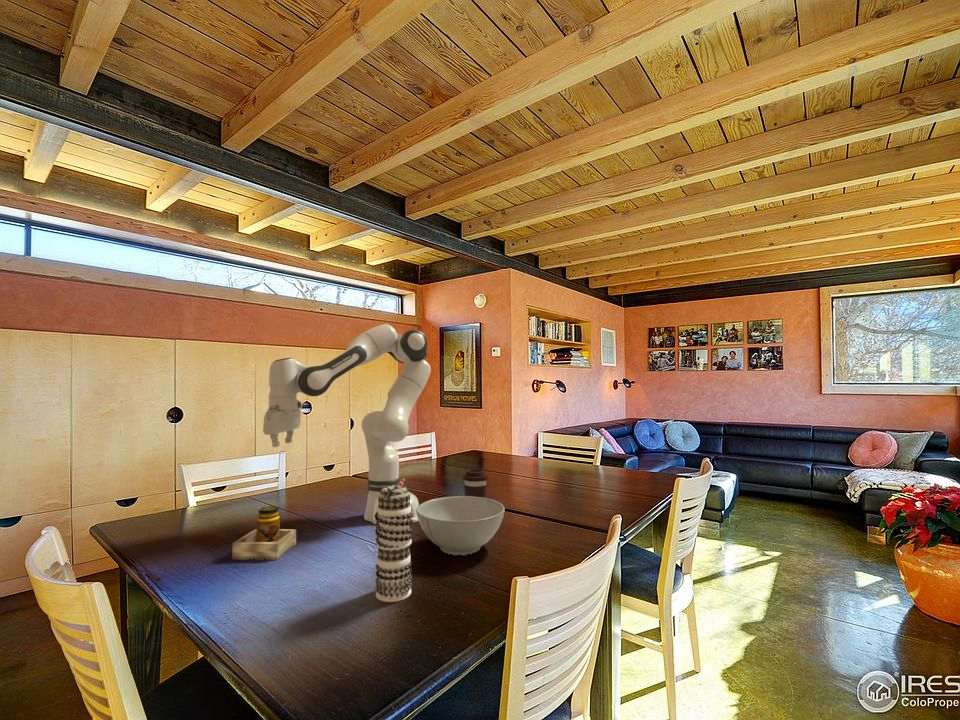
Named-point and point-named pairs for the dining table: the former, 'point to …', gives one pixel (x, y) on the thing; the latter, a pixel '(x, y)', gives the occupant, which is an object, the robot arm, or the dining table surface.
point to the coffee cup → (475, 483)
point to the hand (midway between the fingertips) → (282, 444)
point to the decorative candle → (393, 544)
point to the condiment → (268, 524)
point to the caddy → (263, 546)
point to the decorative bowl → (460, 522)
